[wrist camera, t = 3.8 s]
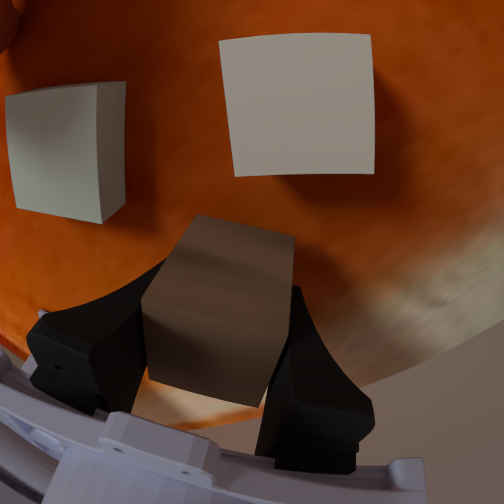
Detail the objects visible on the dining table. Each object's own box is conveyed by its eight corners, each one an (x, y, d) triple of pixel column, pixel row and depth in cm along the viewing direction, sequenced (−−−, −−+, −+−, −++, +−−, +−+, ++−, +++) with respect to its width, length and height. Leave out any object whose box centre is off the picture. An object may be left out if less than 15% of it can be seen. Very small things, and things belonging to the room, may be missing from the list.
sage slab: (128, 200, 17) (102, 224, 15) (45, 188, 18) (16, 207, 15) (129, 80, 13) (97, 85, 11) (38, 88, 14) (5, 96, 11)
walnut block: (273, 309, 16) (258, 407, 11) (190, 289, 16) (148, 379, 11) (295, 236, 14) (287, 335, 9) (197, 214, 14) (141, 298, 9)
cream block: (356, 149, 14) (373, 174, 10) (251, 151, 14) (235, 176, 11) (351, 46, 11) (369, 34, 8) (240, 50, 12) (218, 41, 9)
